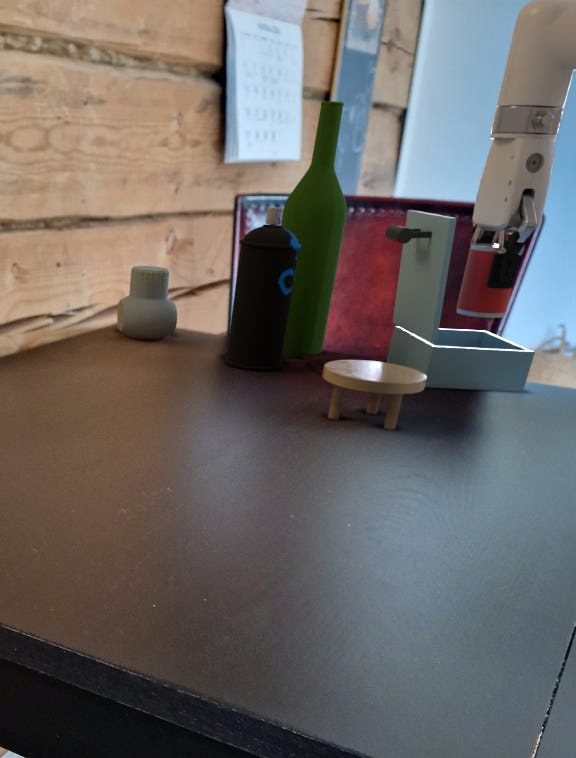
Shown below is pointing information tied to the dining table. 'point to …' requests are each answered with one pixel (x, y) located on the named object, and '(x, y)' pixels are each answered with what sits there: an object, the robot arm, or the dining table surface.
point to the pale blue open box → (463, 359)
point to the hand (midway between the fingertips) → (487, 283)
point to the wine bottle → (315, 238)
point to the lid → (422, 271)
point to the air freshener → (147, 305)
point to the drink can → (481, 285)
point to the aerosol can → (262, 296)
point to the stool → (372, 384)
